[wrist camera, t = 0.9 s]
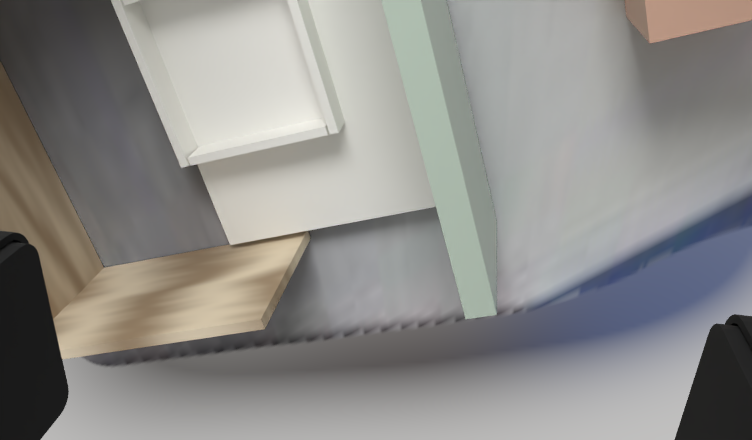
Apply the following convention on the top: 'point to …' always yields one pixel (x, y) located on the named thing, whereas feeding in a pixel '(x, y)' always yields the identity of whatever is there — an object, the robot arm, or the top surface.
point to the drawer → (322, 117)
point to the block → (684, 16)
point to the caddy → (132, 280)
